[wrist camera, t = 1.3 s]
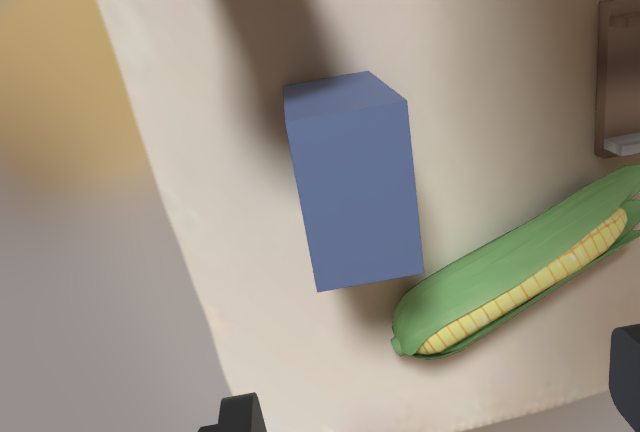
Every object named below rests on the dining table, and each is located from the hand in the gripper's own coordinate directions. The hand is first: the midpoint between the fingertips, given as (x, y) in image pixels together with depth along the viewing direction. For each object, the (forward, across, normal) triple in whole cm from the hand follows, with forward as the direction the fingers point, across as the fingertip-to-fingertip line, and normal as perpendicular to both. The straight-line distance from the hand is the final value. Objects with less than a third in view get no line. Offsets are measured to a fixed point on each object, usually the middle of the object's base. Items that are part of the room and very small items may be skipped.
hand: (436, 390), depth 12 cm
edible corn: (+22, -11, +9) cm, 27 cm away
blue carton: (+22, 0, 0) cm, 22 cm away
